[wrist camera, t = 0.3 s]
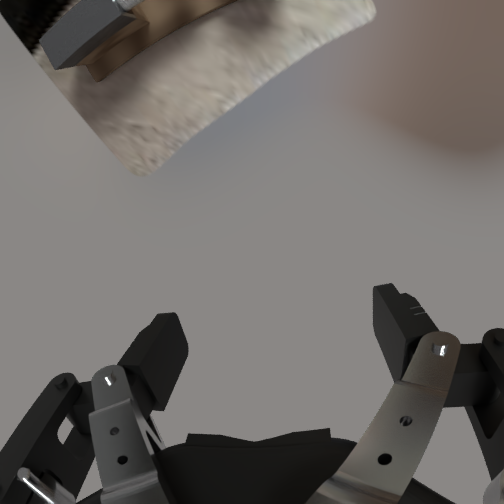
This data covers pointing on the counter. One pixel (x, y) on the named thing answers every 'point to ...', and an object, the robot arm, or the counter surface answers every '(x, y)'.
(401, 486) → the robot arm
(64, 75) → the counter surface
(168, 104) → the counter surface
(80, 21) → the sleeve
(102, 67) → the dock
